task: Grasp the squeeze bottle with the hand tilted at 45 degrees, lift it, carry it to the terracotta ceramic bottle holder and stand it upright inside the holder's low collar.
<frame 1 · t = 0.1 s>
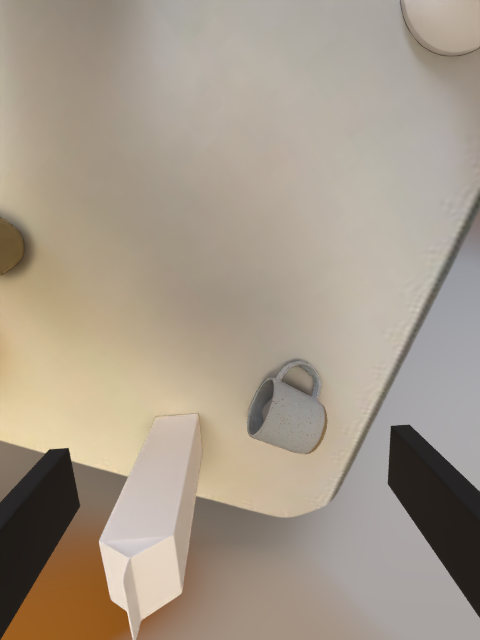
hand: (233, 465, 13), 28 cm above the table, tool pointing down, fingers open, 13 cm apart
ceramic mug: (284, 393, 42), on the table
milk: (179, 433, 43), on the table
squeeze bottle: (1, 244, 37), on the table
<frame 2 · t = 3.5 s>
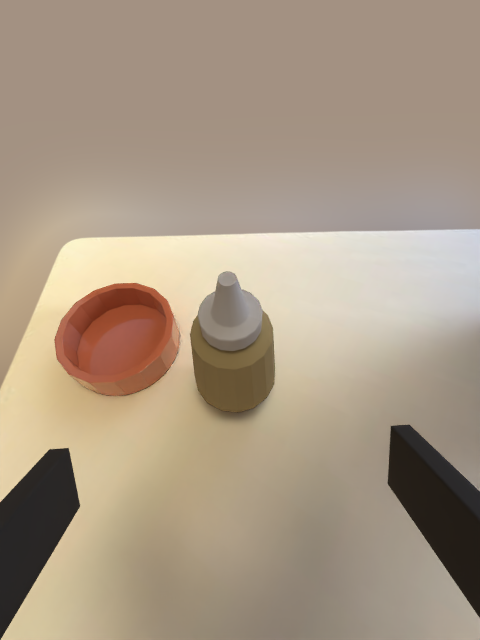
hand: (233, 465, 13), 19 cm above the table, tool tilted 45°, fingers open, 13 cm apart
holder: (127, 345, 37), on the table
squeeze bottle: (236, 385, 34), on the table
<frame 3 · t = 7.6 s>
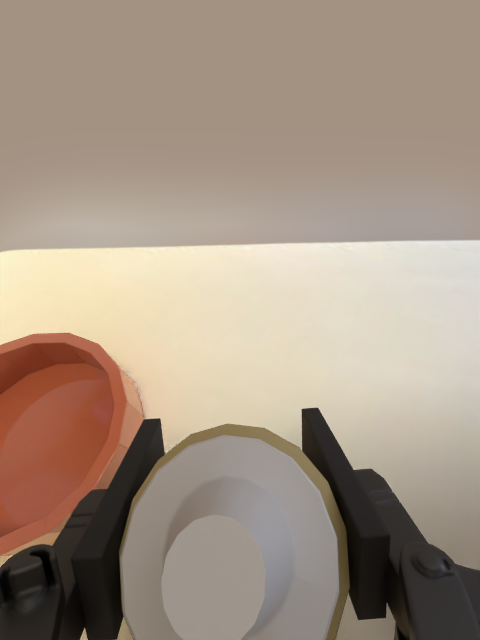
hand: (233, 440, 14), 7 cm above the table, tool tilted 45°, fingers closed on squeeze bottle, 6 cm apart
holder: (53, 438, 22), on the table
squeeze bottle: (240, 527, 19), on the table, touching gripper
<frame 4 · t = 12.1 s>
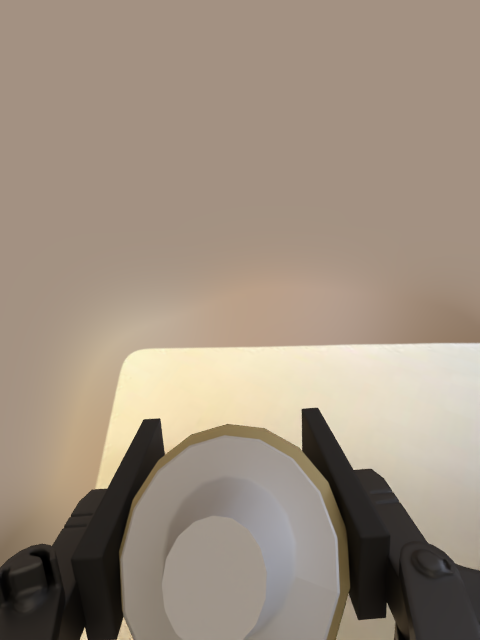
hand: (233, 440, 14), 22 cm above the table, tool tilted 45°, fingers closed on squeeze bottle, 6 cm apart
squeeze bottle: (240, 527, 19), point 15 cm above the table, touching gripper
when the fingers open (8 cm above the table, at t = 16.7 s): squeeze bottle stays where it is, resting on holder.
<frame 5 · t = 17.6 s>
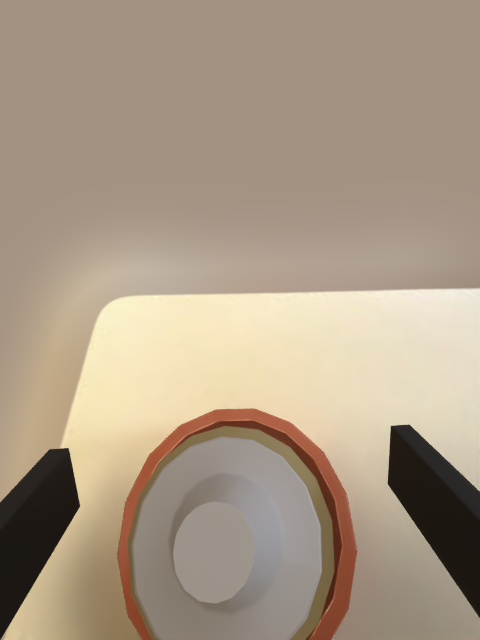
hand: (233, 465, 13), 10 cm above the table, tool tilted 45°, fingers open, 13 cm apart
holder: (238, 522, 20), on the table
squeeze bottle: (238, 523, 20), resting on holder
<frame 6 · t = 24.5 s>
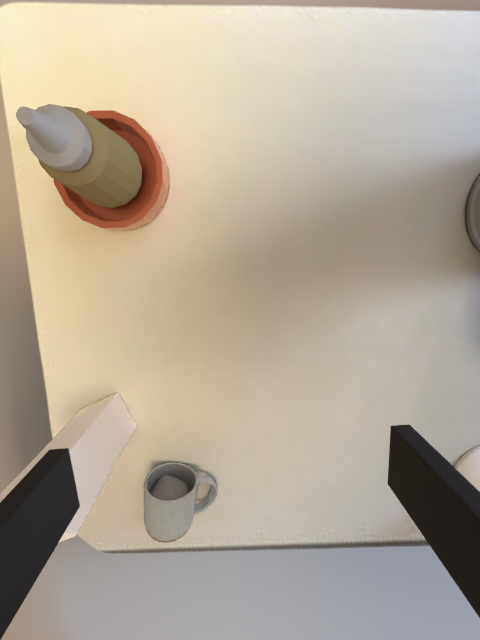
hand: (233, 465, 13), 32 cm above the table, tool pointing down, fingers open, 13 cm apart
ceramic mug: (183, 481, 49), on the table
holder: (119, 179, 39), on the table
milk: (110, 415, 46), on the table
squeeze bottle: (118, 179, 39), resting on holder
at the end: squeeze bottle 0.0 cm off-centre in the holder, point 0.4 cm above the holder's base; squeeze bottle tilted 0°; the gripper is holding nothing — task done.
